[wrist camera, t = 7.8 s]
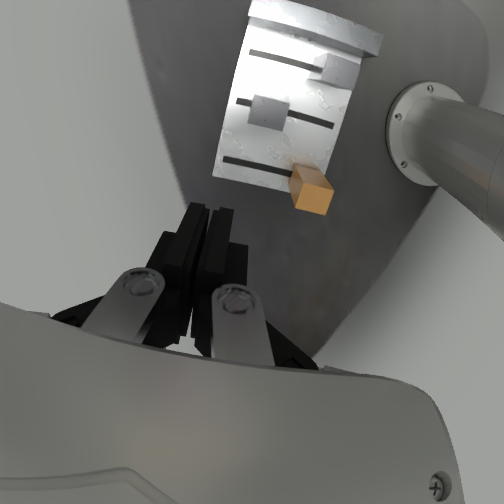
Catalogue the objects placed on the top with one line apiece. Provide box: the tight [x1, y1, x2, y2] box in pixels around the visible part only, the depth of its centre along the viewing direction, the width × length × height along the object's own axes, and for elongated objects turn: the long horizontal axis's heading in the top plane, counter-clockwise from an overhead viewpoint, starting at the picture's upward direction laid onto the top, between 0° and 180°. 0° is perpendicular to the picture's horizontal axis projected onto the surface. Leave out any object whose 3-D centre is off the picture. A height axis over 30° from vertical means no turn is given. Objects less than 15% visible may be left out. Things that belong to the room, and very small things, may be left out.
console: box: [212, 0, 384, 193], centre depth 23 cm, size 11×18×7 cm, turn 167°
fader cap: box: [288, 165, 334, 215], centre depth 27 cm, size 3×2×5 cm
